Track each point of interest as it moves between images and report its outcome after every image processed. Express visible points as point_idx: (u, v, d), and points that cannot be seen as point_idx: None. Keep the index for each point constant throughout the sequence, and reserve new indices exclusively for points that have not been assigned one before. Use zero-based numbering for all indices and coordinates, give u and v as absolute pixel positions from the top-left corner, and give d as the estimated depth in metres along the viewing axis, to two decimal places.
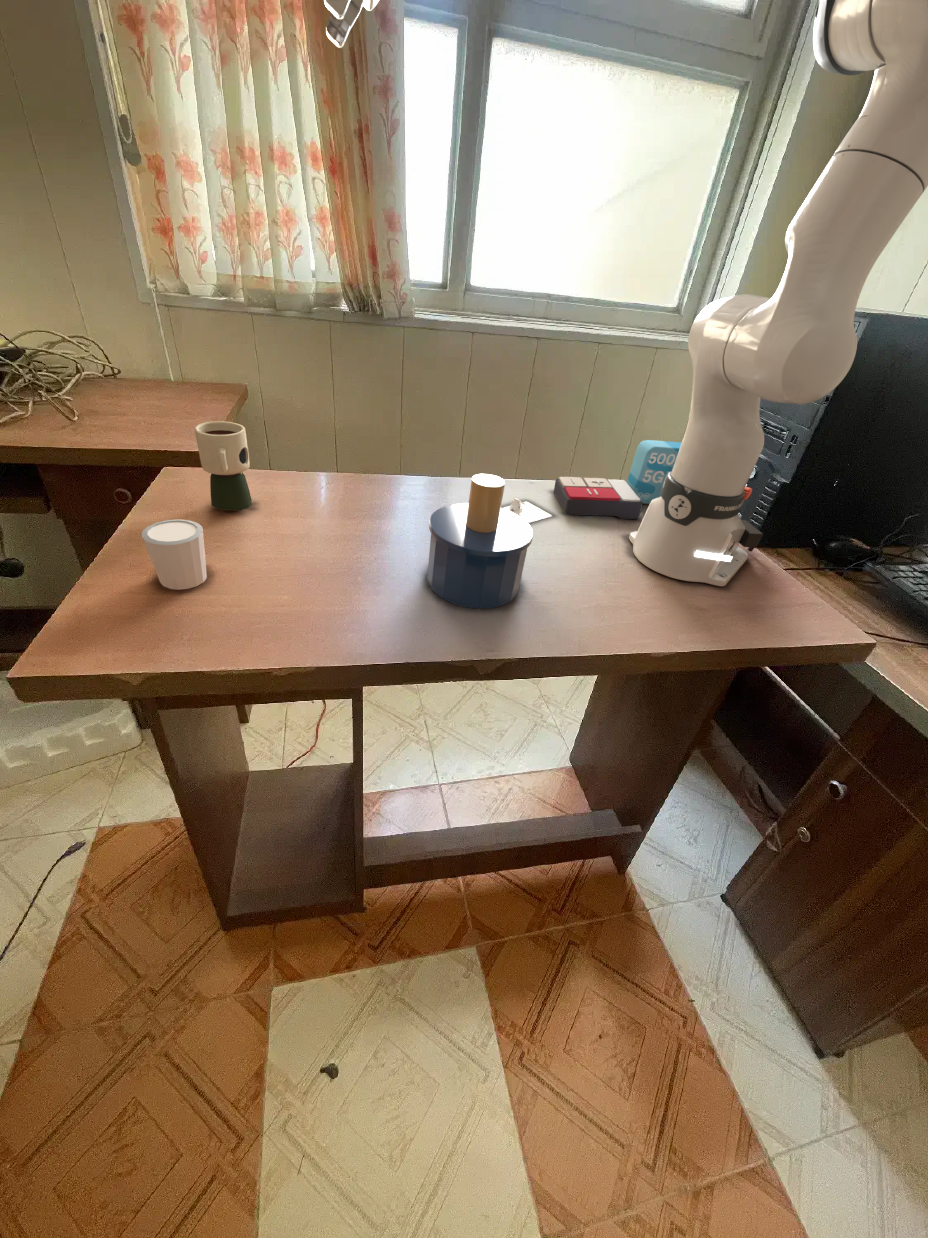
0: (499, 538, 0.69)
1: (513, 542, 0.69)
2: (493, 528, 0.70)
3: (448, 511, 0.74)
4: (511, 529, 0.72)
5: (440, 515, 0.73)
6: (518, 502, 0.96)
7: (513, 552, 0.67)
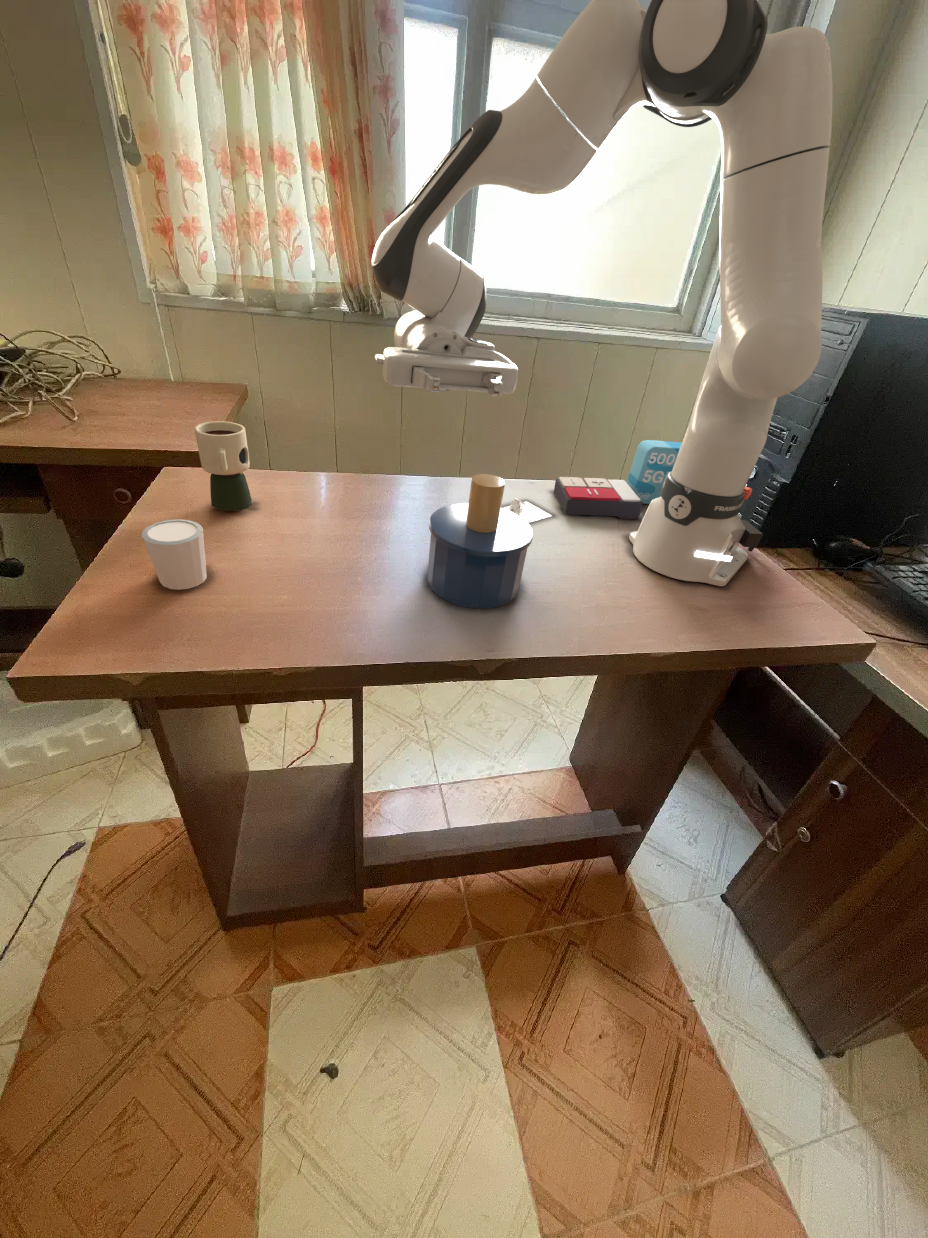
0: (499, 538, 0.69)
1: (513, 542, 0.69)
2: (493, 528, 0.70)
3: (448, 511, 0.74)
4: (511, 529, 0.72)
5: (440, 515, 0.73)
6: (518, 502, 0.96)
7: (513, 552, 0.67)
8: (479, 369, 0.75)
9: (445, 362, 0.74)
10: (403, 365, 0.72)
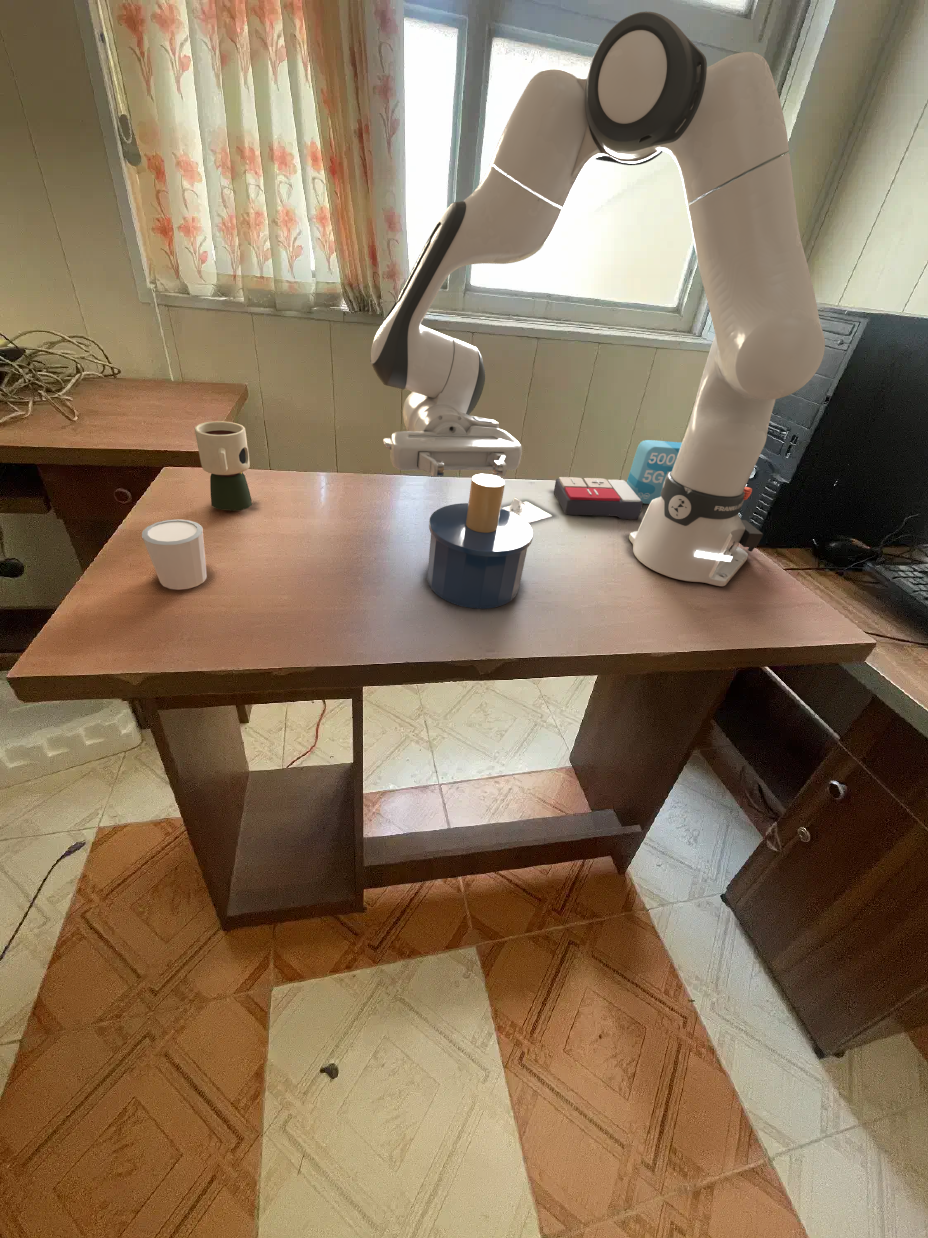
0: (499, 538, 0.69)
1: (513, 542, 0.69)
2: (493, 528, 0.70)
3: (448, 511, 0.74)
4: (511, 529, 0.72)
5: (440, 515, 0.73)
6: (518, 502, 0.96)
7: (513, 552, 0.67)
8: (483, 450, 0.78)
9: (450, 445, 0.76)
10: (409, 451, 0.74)
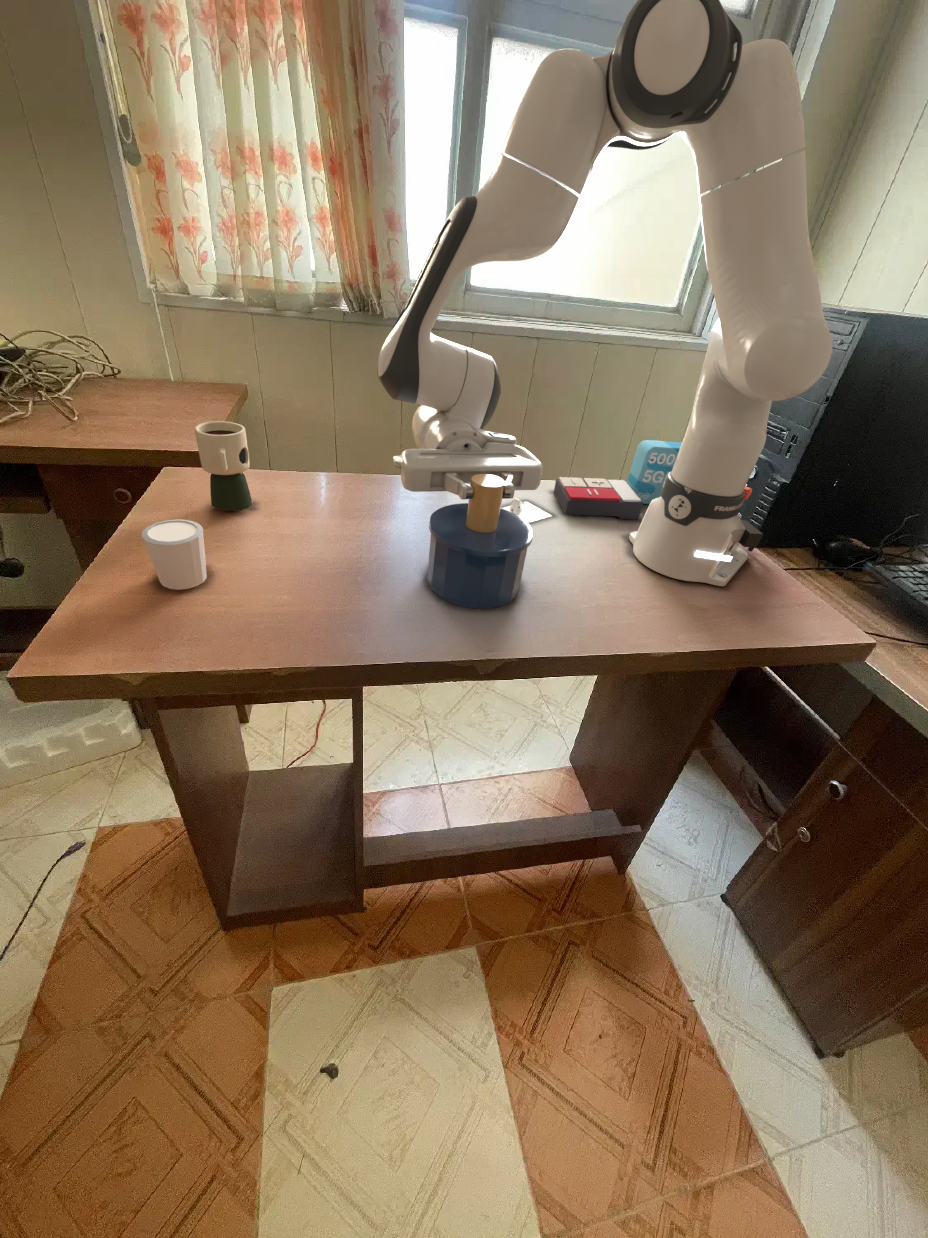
0: (499, 538, 0.69)
1: (513, 542, 0.69)
2: (493, 528, 0.70)
3: (448, 511, 0.74)
4: (511, 529, 0.72)
5: (440, 515, 0.73)
6: (518, 502, 0.96)
7: (513, 552, 0.67)
8: (501, 469, 0.72)
9: (465, 465, 0.70)
10: (422, 472, 0.68)
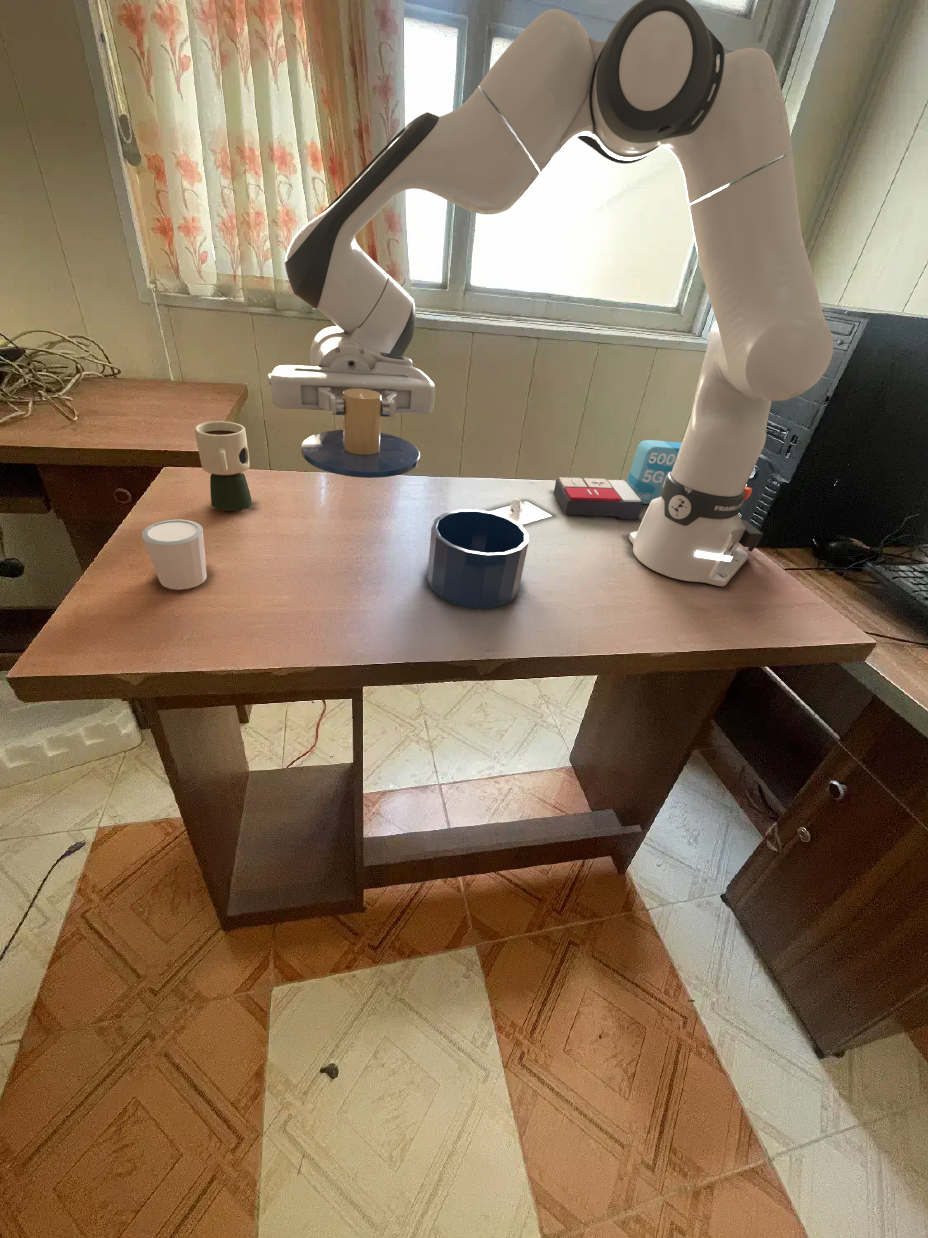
0: (376, 460, 0.62)
1: (391, 464, 0.62)
2: (372, 450, 0.63)
3: (329, 435, 0.67)
4: (395, 453, 0.65)
5: (318, 438, 0.65)
6: (518, 502, 0.96)
7: (389, 474, 0.60)
8: (384, 387, 0.65)
9: (342, 380, 0.63)
10: (290, 385, 0.61)
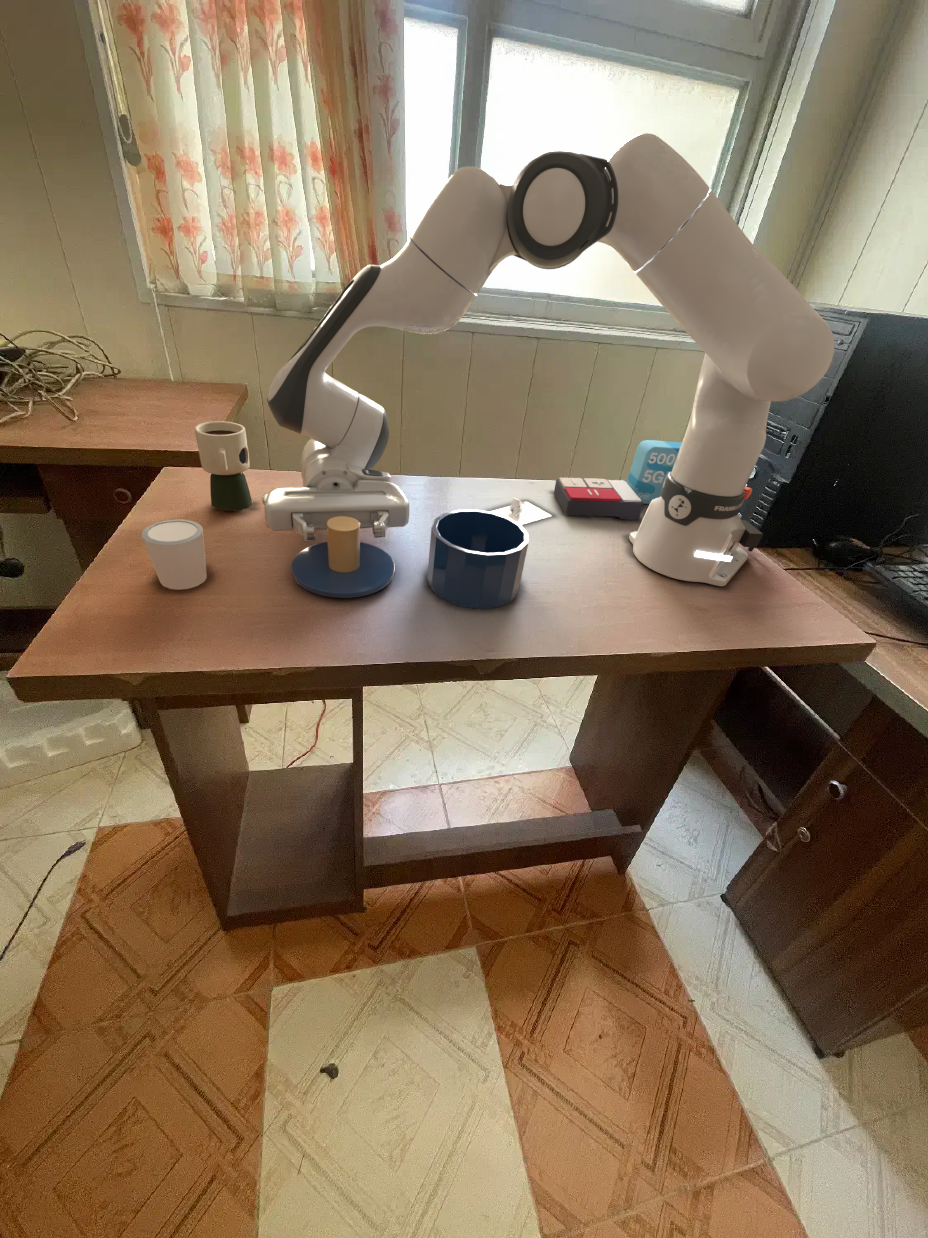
0: (356, 579, 0.72)
1: (369, 582, 0.71)
2: (353, 568, 0.73)
3: (316, 550, 0.76)
4: (373, 568, 0.74)
5: (306, 554, 0.75)
6: (518, 502, 0.96)
7: (366, 593, 0.70)
8: (364, 509, 0.74)
9: (327, 505, 0.73)
10: (281, 513, 0.71)
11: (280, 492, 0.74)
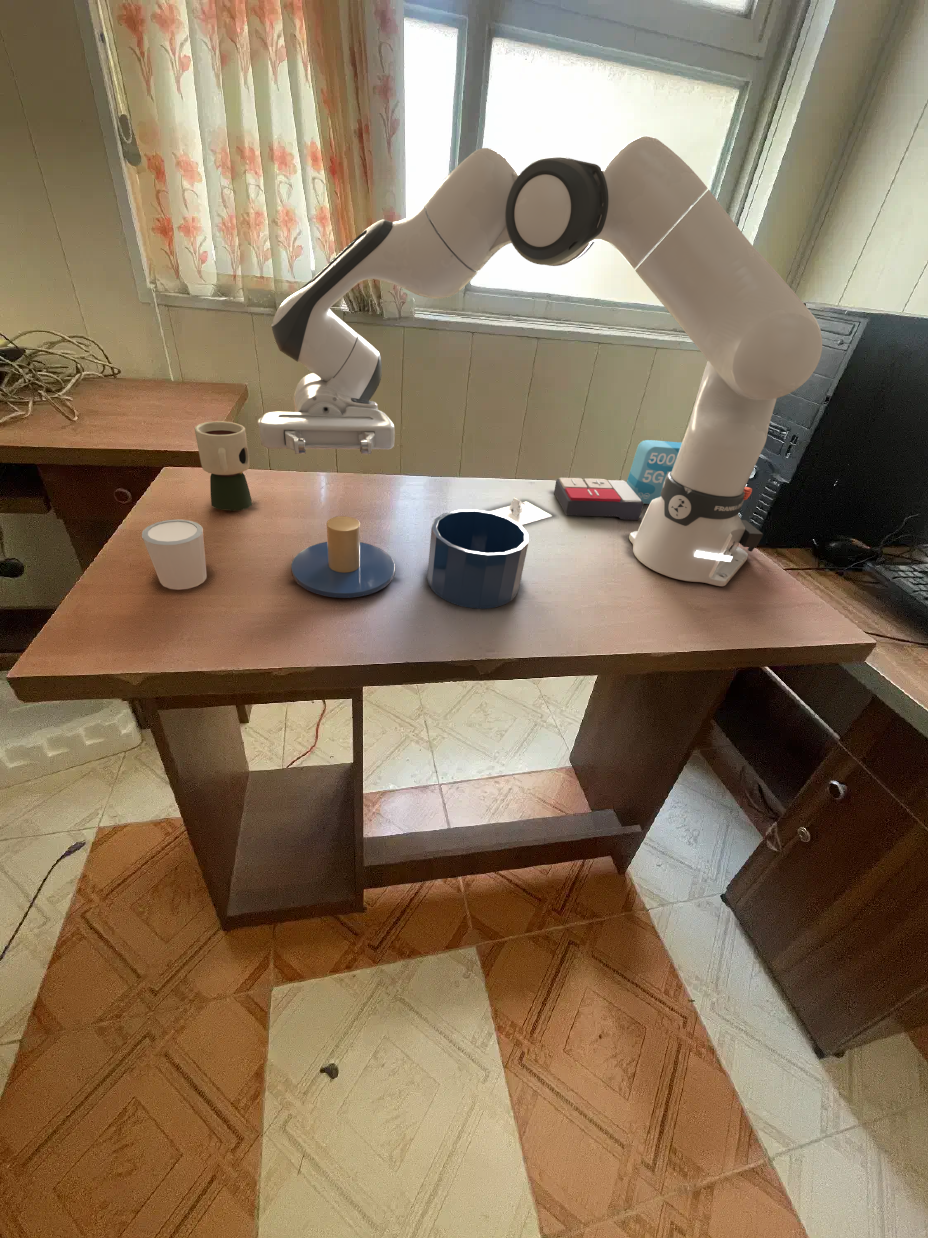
0: (356, 579, 0.72)
1: (369, 582, 0.71)
2: (353, 568, 0.73)
3: (316, 550, 0.76)
4: (373, 568, 0.74)
5: (306, 554, 0.75)
6: (518, 502, 0.96)
7: (366, 593, 0.70)
8: (352, 429, 0.79)
9: (317, 424, 0.78)
10: (275, 430, 0.76)
11: (274, 414, 0.80)
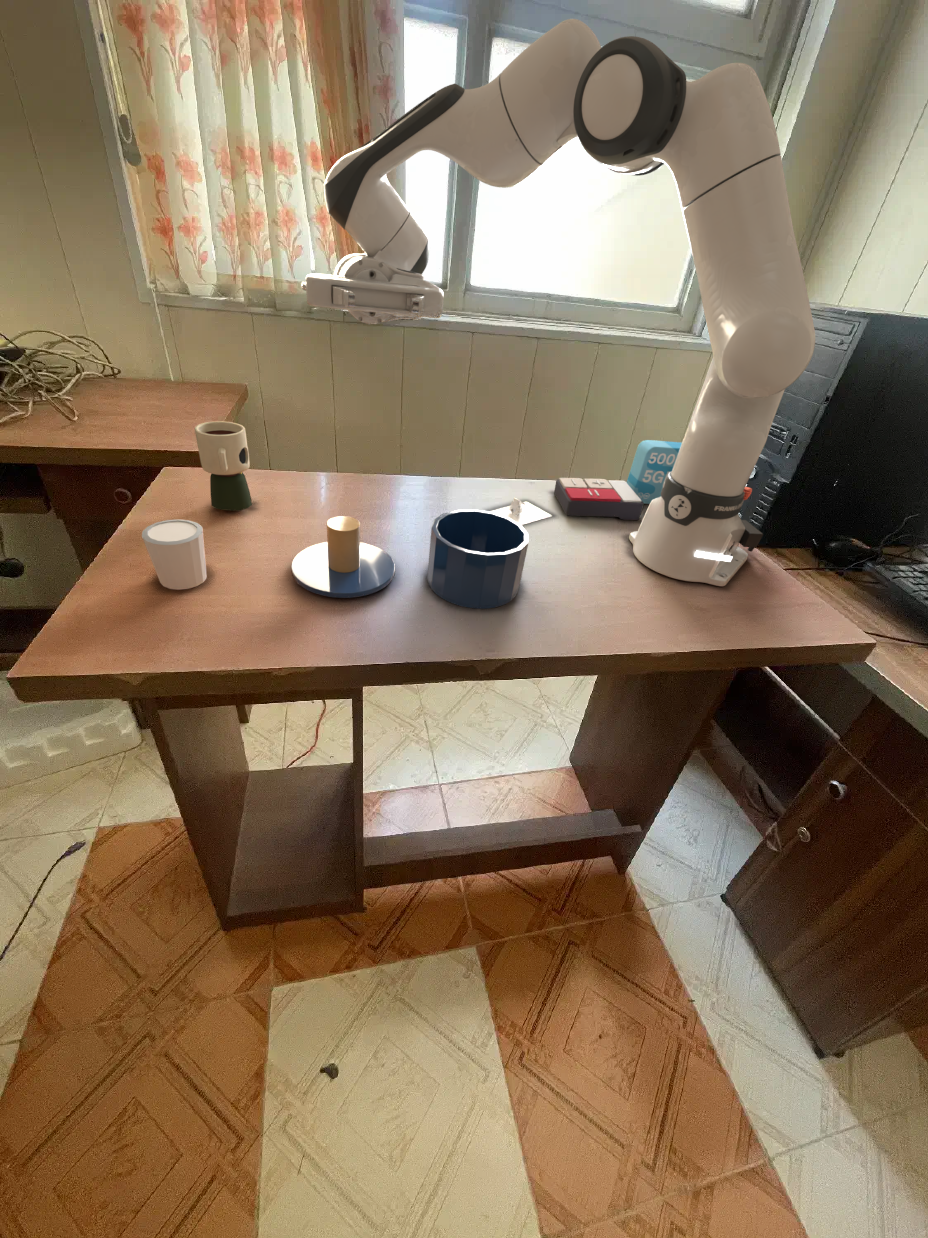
0: (356, 579, 0.72)
1: (369, 582, 0.71)
2: (353, 568, 0.73)
3: (316, 550, 0.76)
4: (373, 568, 0.74)
5: (306, 554, 0.75)
6: (518, 502, 0.96)
7: (366, 593, 0.70)
8: (401, 290, 0.76)
9: (365, 282, 0.75)
10: (322, 284, 0.73)
11: (319, 274, 0.76)
